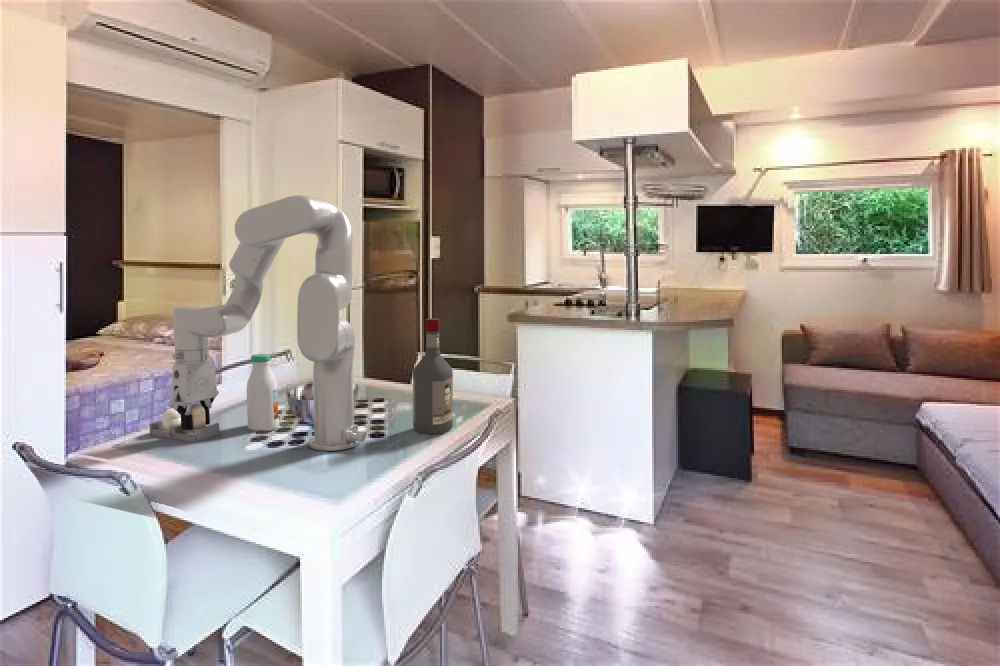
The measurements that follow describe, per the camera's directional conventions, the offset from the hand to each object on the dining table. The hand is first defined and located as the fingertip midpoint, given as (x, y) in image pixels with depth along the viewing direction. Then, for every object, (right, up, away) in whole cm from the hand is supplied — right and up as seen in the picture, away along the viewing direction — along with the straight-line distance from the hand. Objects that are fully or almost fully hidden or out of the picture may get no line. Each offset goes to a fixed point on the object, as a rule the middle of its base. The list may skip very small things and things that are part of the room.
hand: (195, 425), depth 154 cm
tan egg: (0, -1, 0) cm, 1 cm away
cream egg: (-7, -2, +3) cm, 8 cm away
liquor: (+59, -3, +11) cm, 60 cm away
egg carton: (-4, -3, +2) cm, 5 cm away
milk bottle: (+13, -2, +10) cm, 17 cm away
